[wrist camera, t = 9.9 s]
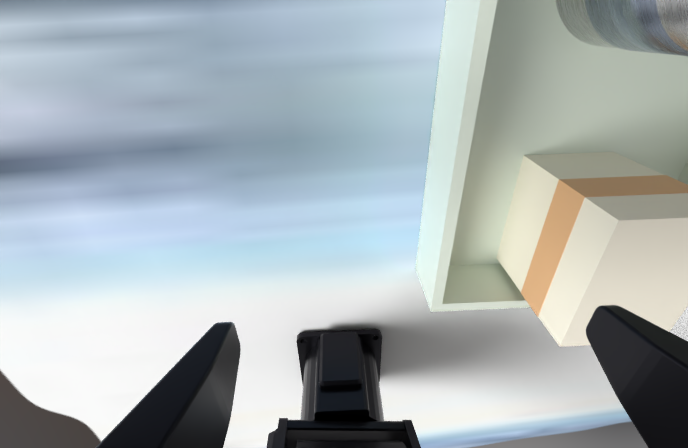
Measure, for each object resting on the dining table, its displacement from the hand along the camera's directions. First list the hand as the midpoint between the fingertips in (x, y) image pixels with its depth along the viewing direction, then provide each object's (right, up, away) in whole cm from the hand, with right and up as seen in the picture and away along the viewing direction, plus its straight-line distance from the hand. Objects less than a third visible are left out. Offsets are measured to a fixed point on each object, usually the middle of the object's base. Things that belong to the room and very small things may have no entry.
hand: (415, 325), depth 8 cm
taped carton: (+11, +3, +12) cm, 16 cm away
